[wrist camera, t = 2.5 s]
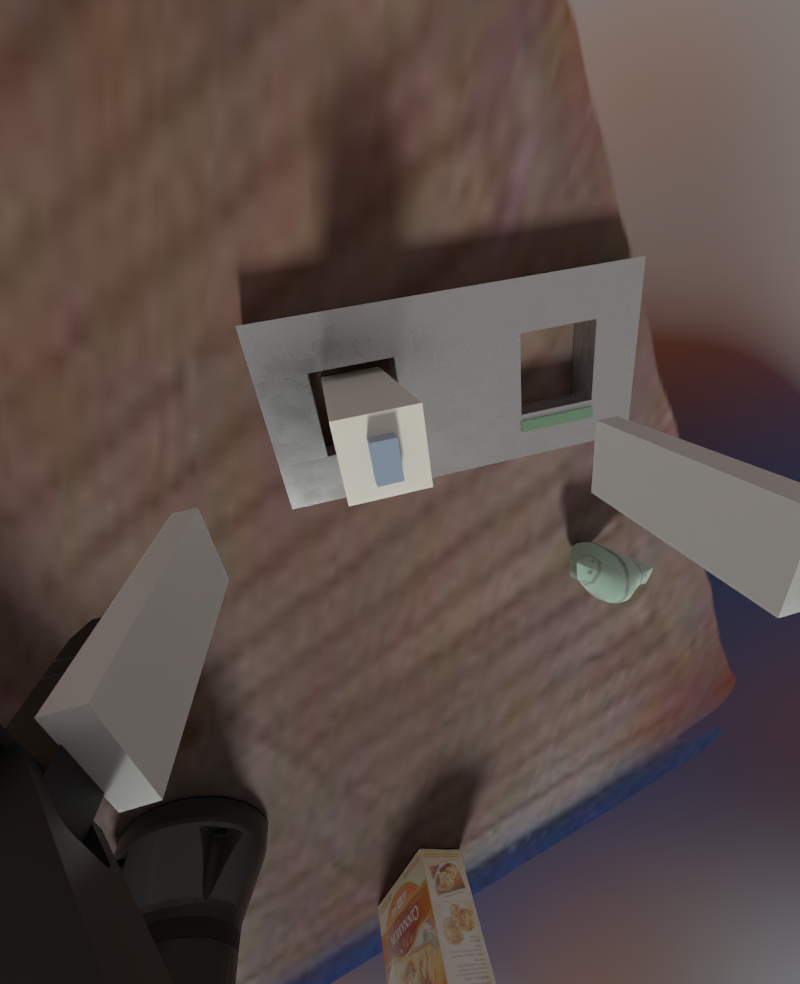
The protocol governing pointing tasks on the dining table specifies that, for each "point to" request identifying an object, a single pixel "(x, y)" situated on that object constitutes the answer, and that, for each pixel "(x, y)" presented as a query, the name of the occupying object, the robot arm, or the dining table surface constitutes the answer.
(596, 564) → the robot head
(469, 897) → the coffeecake box
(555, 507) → the dining table surface
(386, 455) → the plug
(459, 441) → the panel
